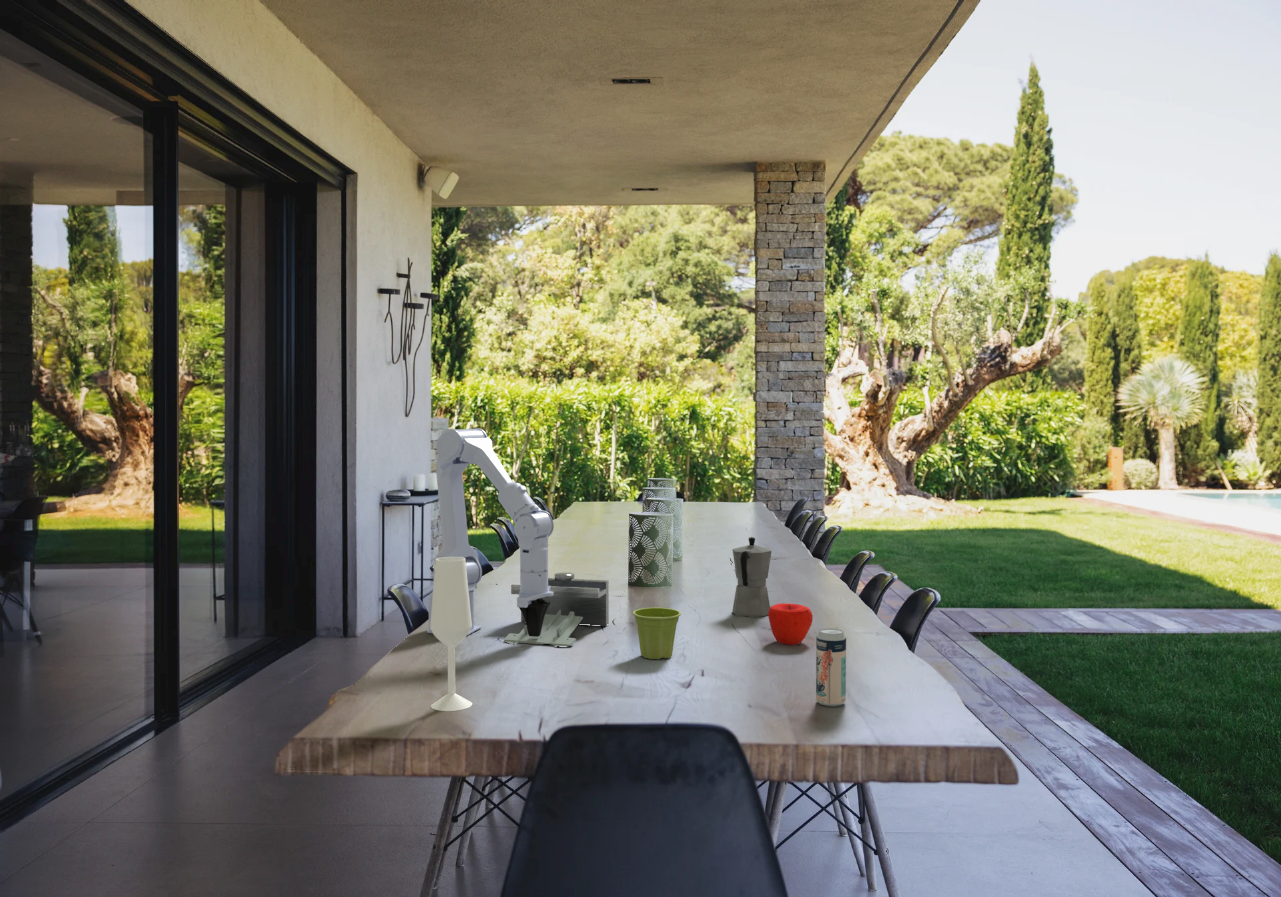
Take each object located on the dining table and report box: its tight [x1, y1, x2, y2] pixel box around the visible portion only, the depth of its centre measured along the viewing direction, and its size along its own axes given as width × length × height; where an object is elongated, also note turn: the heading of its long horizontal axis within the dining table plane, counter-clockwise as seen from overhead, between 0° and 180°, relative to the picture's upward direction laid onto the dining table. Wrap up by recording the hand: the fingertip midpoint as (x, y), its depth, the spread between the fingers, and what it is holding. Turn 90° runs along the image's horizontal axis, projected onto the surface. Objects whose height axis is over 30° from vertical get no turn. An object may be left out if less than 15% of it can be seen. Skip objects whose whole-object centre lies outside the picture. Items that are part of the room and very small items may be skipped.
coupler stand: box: [510, 572, 610, 627], centre depth 226 cm, size 20×9×11 cm, turn 76°
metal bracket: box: [503, 610, 583, 647], centre depth 214 cm, size 14×6×15 cm
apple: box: [767, 602, 814, 646], centre depth 210 cm, size 9×9×8 cm
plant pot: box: [632, 607, 682, 660], centre depth 199 cm, size 9×9×9 cm
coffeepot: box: [732, 536, 772, 618], centre depth 239 cm, size 15×9×18 cm, turn 160°
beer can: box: [815, 628, 847, 708], centre depth 167 cm, size 5×5×12 cm
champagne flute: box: [430, 557, 473, 712], centre depth 166 cm, size 7×7×24 cm
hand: (534, 635), depth 210 cm, fingers closed
